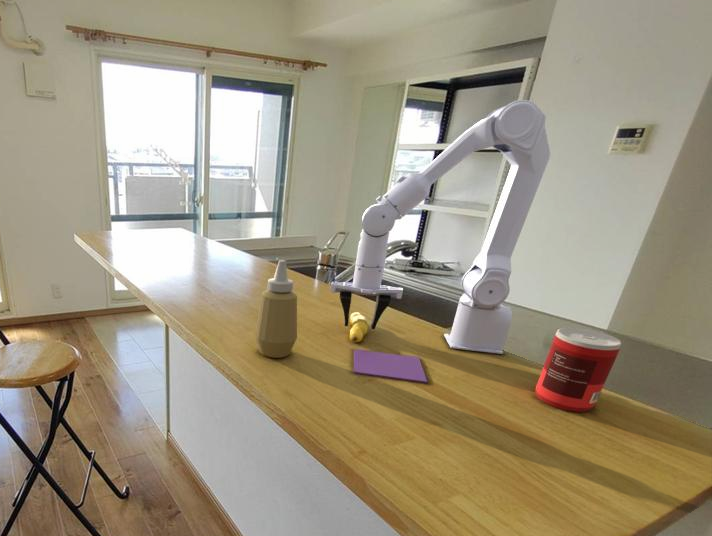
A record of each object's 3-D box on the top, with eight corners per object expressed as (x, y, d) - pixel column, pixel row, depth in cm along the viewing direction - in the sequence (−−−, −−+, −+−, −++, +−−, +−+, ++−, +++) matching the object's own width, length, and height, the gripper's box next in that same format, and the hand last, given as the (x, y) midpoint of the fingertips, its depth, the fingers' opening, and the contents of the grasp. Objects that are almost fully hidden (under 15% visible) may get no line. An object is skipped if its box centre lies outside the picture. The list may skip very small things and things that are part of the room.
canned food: (580, 393, 70) (607, 330, 66) (603, 417, 63) (634, 349, 59) (526, 385, 73) (548, 324, 68) (543, 408, 66) (568, 341, 61)
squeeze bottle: (250, 345, 87) (256, 256, 80) (289, 344, 88) (298, 256, 80) (257, 361, 80) (264, 265, 72) (300, 360, 80) (310, 265, 73)
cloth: (418, 358, 82) (418, 357, 82) (426, 383, 73) (427, 381, 73) (353, 350, 86) (354, 349, 85) (353, 373, 76) (354, 371, 76)
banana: (365, 321, 102) (367, 308, 101) (367, 347, 87) (369, 332, 86) (349, 319, 103) (351, 307, 102) (348, 344, 88) (351, 330, 87)
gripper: (333, 266, 88) (325, 328, 93) (409, 271, 84) (395, 336, 89) (334, 260, 94) (326, 318, 99) (405, 265, 90) (393, 325, 96)
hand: (359, 326), depth 95 cm, fingers open, 5 cm apart
